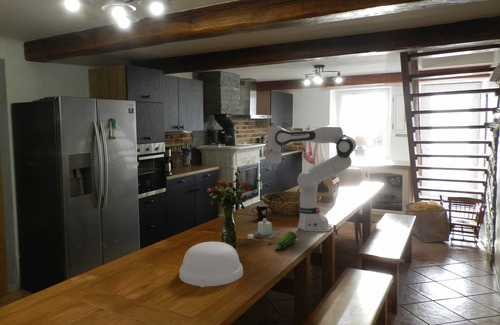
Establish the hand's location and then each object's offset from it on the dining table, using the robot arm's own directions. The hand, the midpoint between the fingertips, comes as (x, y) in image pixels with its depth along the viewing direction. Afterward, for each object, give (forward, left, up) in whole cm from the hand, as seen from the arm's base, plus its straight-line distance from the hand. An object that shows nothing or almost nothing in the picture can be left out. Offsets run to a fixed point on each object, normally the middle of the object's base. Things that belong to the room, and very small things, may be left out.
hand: (272, 169), depth 268 cm
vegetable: (-22, +42, -39) cm, 61 cm away
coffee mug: (+16, -16, -39) cm, 45 cm away
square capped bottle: (-2, +23, -38) cm, 45 cm away
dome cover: (-1, +93, -39) cm, 101 cm away
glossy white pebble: (+3, +35, -39) cm, 52 cm away
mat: (-2, +23, -39) cm, 45 cm away
